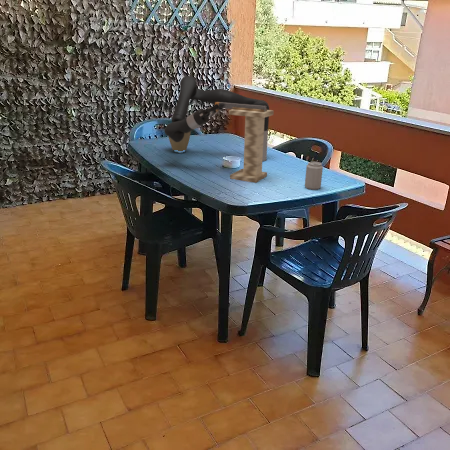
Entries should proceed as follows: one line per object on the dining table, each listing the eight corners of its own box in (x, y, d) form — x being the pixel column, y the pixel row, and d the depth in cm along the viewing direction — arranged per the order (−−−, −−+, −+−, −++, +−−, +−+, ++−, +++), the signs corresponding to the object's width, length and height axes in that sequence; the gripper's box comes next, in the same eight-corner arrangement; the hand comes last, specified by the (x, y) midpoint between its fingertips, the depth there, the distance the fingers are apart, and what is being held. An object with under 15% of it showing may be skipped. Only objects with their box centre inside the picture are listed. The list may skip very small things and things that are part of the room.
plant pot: (163, 150, 281) (162, 124, 276) (185, 148, 288) (185, 123, 282) (172, 155, 269) (171, 128, 263) (195, 153, 276) (195, 126, 270)
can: (308, 190, 210) (311, 165, 205) (301, 186, 216) (304, 161, 212) (323, 189, 212) (326, 164, 207) (316, 185, 218) (318, 160, 214)
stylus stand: (226, 178, 226) (228, 108, 214) (238, 171, 238) (240, 105, 225) (259, 183, 219) (263, 111, 206) (270, 176, 230) (274, 108, 218)
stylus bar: (215, 107, 223) (215, 102, 222) (217, 107, 225) (217, 101, 224) (264, 111, 212) (264, 106, 211) (266, 111, 214) (266, 105, 213)
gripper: (187, 114, 225) (212, 99, 216) (201, 110, 236) (225, 96, 228) (193, 128, 225) (219, 113, 217) (207, 124, 237) (232, 110, 228)
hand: (222, 104), depth 222 cm, fingers open, 8 cm apart
